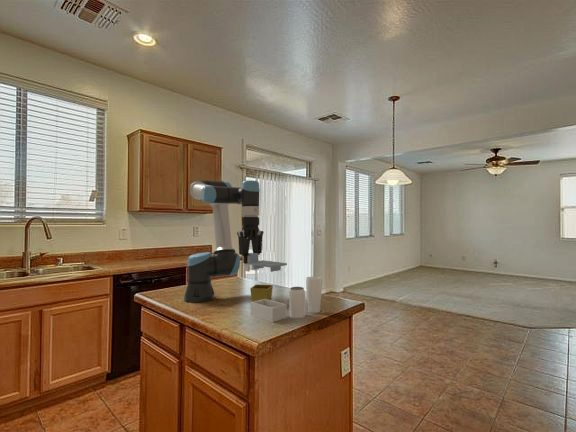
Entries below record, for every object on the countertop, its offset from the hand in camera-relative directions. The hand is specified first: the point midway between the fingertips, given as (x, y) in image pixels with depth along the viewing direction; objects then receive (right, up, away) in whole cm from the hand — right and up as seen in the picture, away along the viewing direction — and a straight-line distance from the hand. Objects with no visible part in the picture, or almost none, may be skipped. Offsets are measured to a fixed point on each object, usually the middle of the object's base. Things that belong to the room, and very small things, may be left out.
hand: (250, 270), depth 135 cm
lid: (+6, +1, -5) cm, 8 cm away
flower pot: (+4, -19, +12) cm, 23 cm away
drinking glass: (+28, -19, +1) cm, 33 cm away
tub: (+8, -18, -7) cm, 21 cm away
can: (+20, -19, -6) cm, 28 cm away
